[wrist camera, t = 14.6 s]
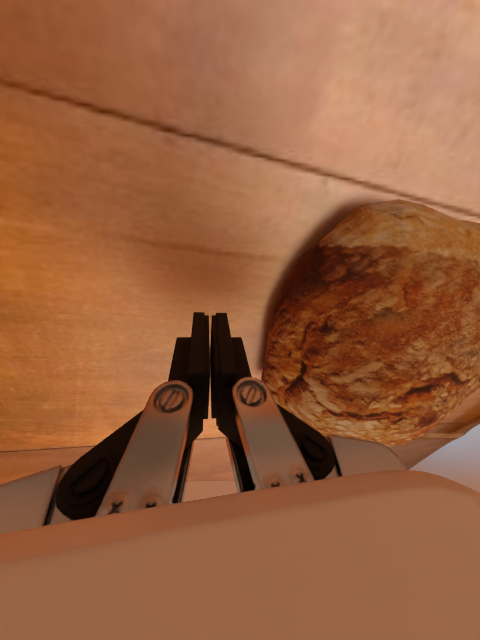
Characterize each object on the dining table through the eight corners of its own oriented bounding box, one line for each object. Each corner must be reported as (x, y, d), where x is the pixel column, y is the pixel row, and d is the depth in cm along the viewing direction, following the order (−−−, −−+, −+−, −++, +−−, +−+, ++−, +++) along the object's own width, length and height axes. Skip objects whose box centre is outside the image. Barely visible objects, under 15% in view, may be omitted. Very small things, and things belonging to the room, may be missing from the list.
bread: (251, 373, 22) (278, 477, 14) (294, 186, 13) (463, 161, 4) (392, 369, 26) (479, 448, 18) (506, 225, 17) (806, 250, 8)
